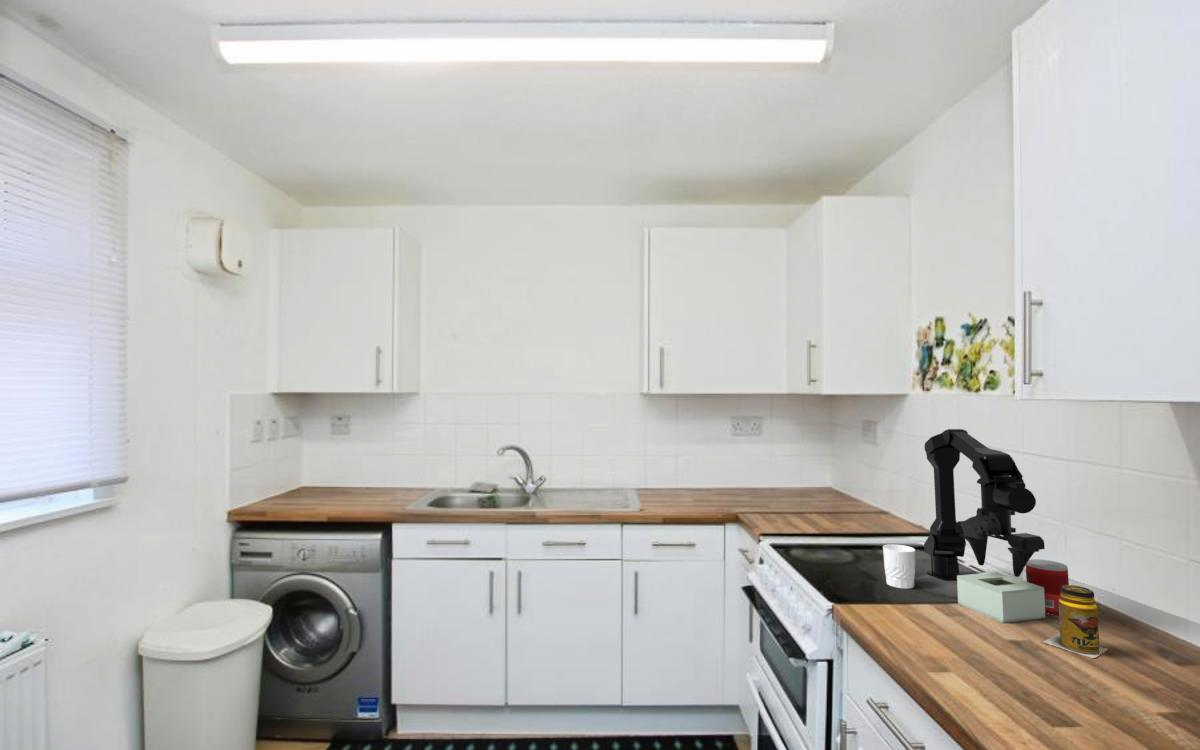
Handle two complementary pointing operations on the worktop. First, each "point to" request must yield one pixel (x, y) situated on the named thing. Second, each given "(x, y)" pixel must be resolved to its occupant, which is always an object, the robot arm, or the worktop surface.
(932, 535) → the robot arm
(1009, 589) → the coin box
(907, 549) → the white cup
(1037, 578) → the canned food
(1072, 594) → the condiment
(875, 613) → the worktop surface
